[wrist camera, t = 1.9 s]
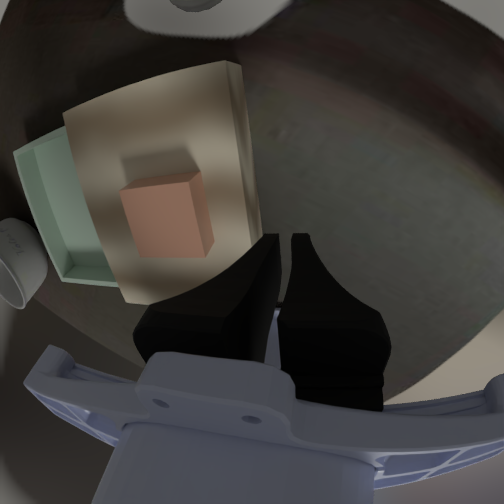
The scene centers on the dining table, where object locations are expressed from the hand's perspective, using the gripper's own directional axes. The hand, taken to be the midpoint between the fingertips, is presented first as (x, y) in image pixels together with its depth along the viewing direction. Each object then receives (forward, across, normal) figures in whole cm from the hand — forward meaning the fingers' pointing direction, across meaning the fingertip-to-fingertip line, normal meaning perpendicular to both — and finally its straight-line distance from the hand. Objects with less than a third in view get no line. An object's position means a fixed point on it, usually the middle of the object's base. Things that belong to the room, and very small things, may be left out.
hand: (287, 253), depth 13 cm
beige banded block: (+9, +10, 0) cm, 13 cm away
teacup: (+10, +36, +4) cm, 37 cm away
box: (+9, +22, 0) cm, 23 cm away
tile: (+5, +8, 0) cm, 10 cm away
